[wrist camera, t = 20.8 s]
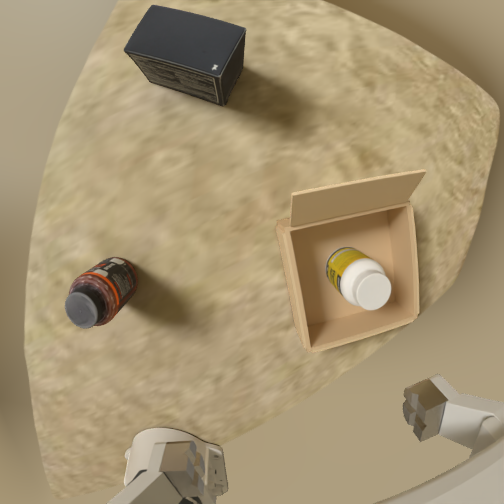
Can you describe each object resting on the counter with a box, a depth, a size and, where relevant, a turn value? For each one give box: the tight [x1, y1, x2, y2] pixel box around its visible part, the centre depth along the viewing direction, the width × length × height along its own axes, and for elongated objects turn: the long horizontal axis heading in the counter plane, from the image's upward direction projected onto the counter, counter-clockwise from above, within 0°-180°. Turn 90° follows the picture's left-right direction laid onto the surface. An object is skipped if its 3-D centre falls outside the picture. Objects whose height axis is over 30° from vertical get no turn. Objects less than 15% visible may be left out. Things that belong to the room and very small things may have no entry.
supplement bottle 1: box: [65, 257, 138, 328], centre depth 32 cm, size 6×6×11 cm
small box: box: [124, 5, 246, 106], centre depth 28 cm, size 11×6×10 cm, turn 67°
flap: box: [290, 169, 426, 227], centre depth 29 cm, size 6×14×1 cm
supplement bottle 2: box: [325, 247, 391, 310], centre depth 34 cm, size 5×5×10 cm
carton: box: [276, 201, 419, 353], centre depth 36 cm, size 15×16×6 cm
